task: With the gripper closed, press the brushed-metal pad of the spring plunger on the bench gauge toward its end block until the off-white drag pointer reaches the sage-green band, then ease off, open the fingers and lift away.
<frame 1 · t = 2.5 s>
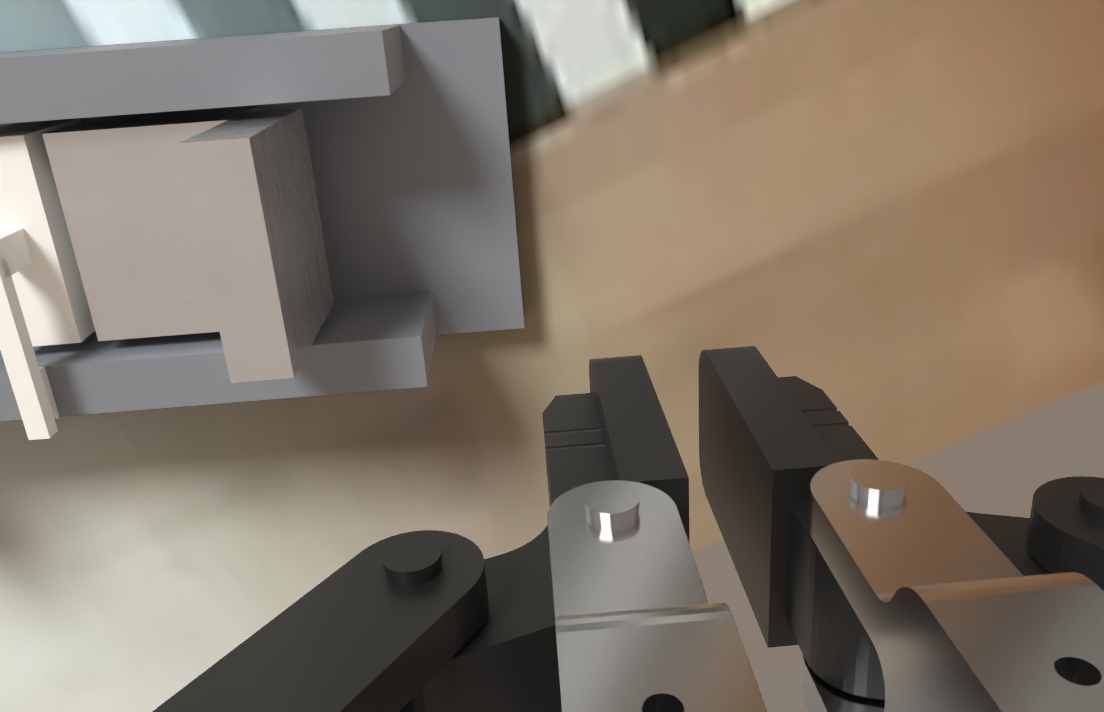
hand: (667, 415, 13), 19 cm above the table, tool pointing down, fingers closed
drag pointer: (43, 274, 27), point 4 cm above the table, slide at 0.0 cm
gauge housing: (120, 205, 30), on the table
plunger: (186, 235, 25), point 5 cm above the table, slide at 0.0 cm
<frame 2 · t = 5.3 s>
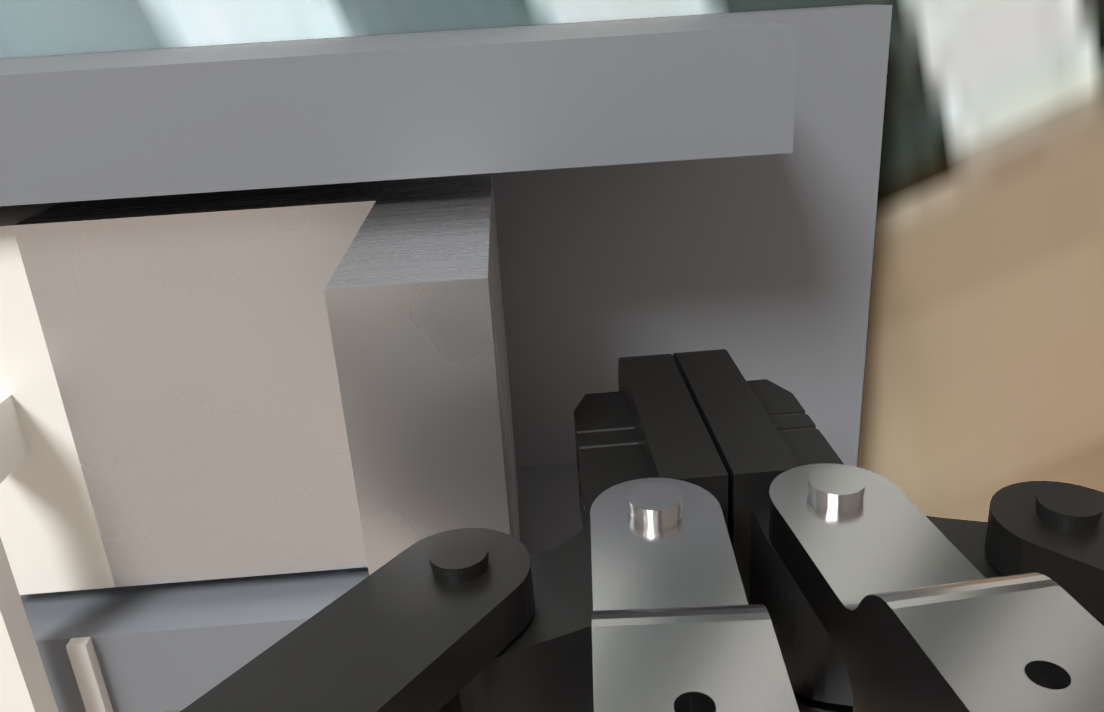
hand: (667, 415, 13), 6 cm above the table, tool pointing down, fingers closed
drag pointer: (48, 461, 15), point 4 cm above the table, slide at 0.7 cm, touching plunger
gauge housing: (207, 311, 18), on the table
plunger: (285, 411, 14), point 5 cm above the table, slide at 1.2 cm, touching drag pointer, gripper
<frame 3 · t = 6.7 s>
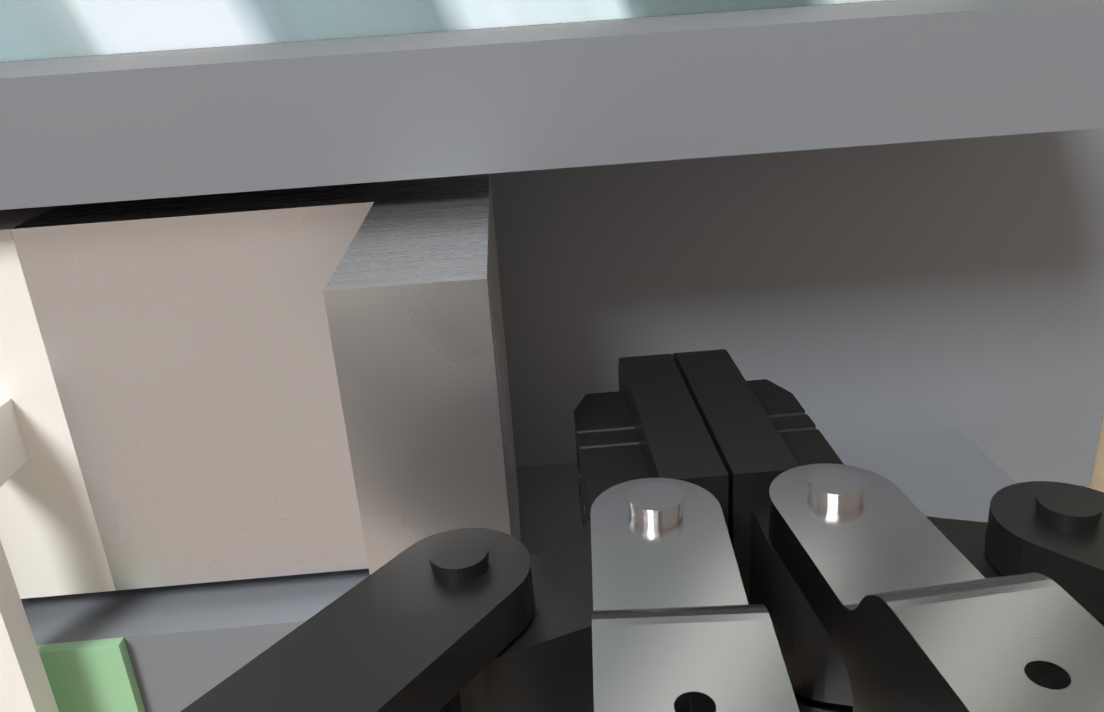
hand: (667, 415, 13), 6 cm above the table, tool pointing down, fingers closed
drag pointer: (48, 465, 15), point 4 cm above the table, slide at 5.8 cm, touching plunger
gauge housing: (463, 294, 18), on the table
plunger: (285, 413, 14), point 5 cm above the table, slide at 6.3 cm, touching drag pointer, gripper
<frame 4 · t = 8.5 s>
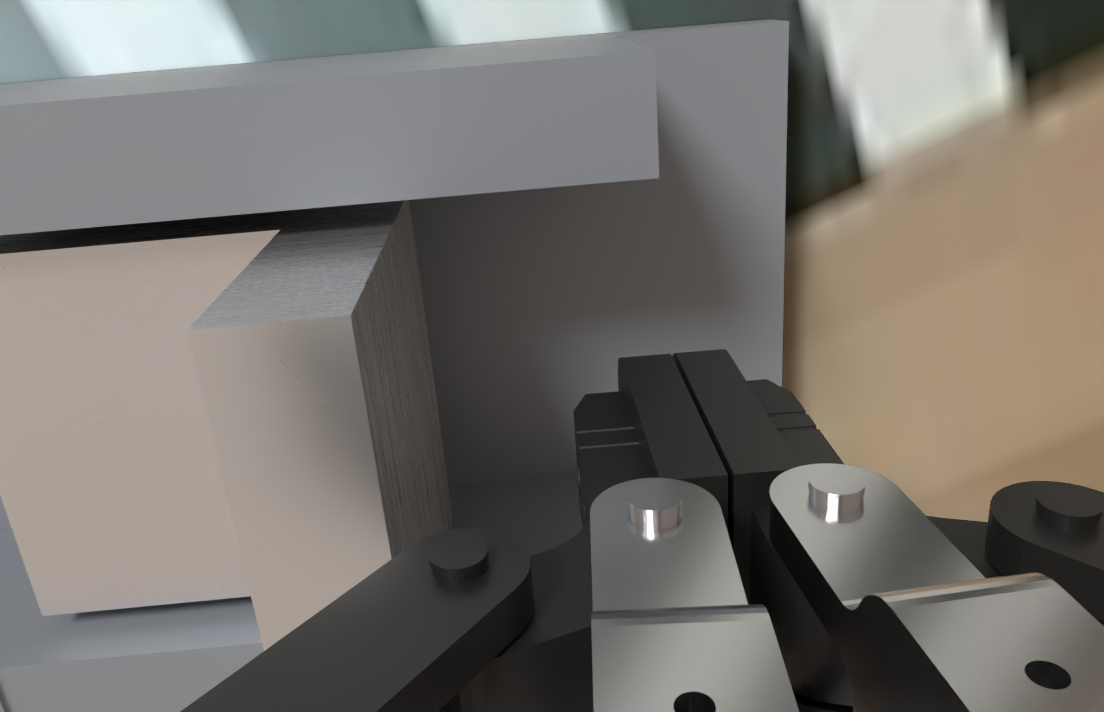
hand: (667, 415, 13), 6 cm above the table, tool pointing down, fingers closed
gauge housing: (124, 337, 18), on the table
plunger: (200, 440, 14), point 5 cm above the table, slide at 0.7 cm
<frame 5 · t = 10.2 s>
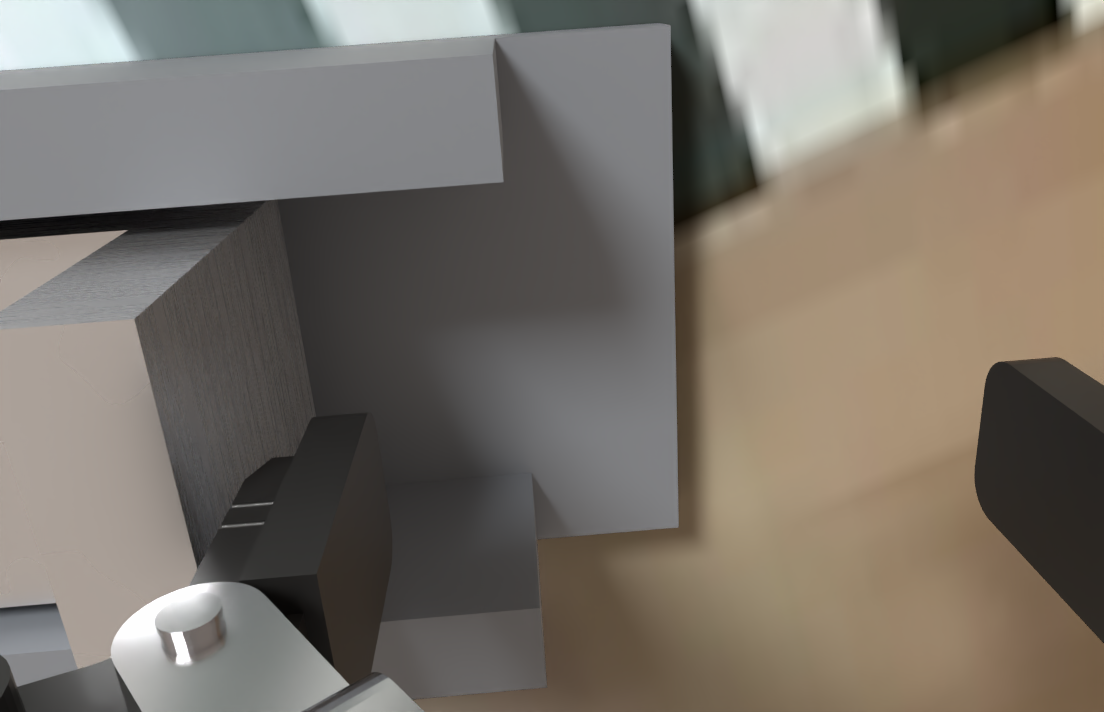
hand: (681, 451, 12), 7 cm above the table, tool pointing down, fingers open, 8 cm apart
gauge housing: (17, 335, 18), on the table
plunger: (54, 441, 13), point 5 cm above the table, slide at 0.7 cm, touching gripper
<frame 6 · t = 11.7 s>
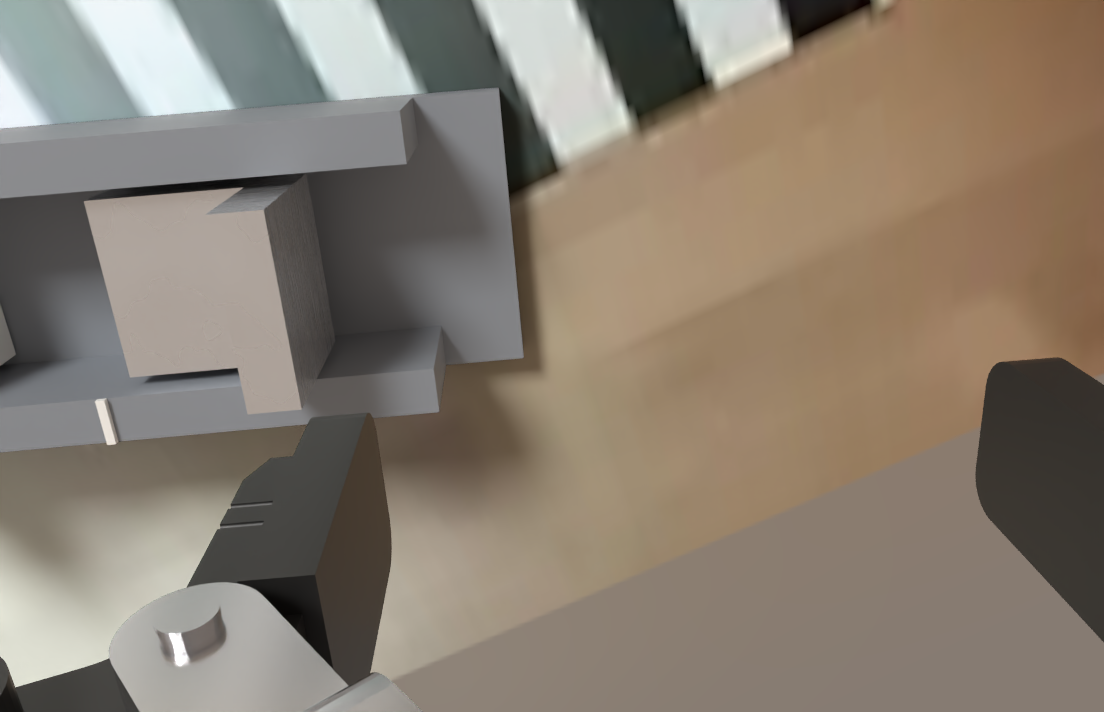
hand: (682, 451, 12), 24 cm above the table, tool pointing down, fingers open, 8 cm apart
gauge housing: (166, 254, 34), on the table
plunger: (207, 285, 29), point 5 cm above the table, slide at 0.7 cm
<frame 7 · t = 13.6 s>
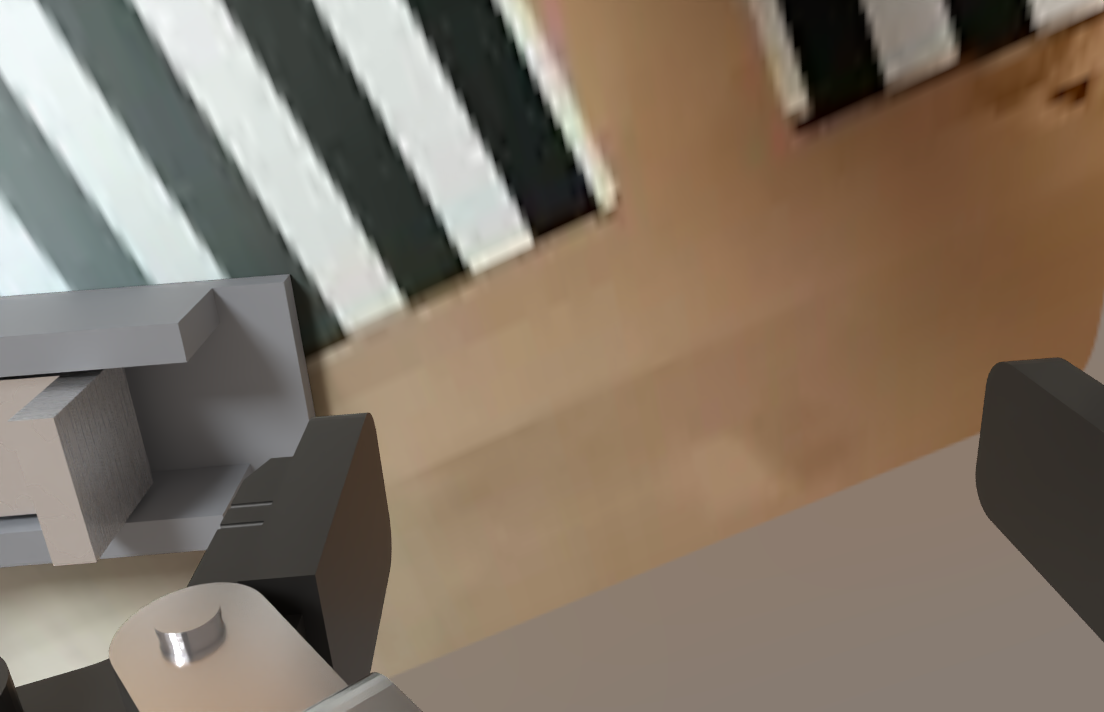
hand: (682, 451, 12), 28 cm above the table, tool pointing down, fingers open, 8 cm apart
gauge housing: (20, 402, 41), on the table
plunger: (34, 450, 36), point 5 cm above the table, slide at 0.7 cm
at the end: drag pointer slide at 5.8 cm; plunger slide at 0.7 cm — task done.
